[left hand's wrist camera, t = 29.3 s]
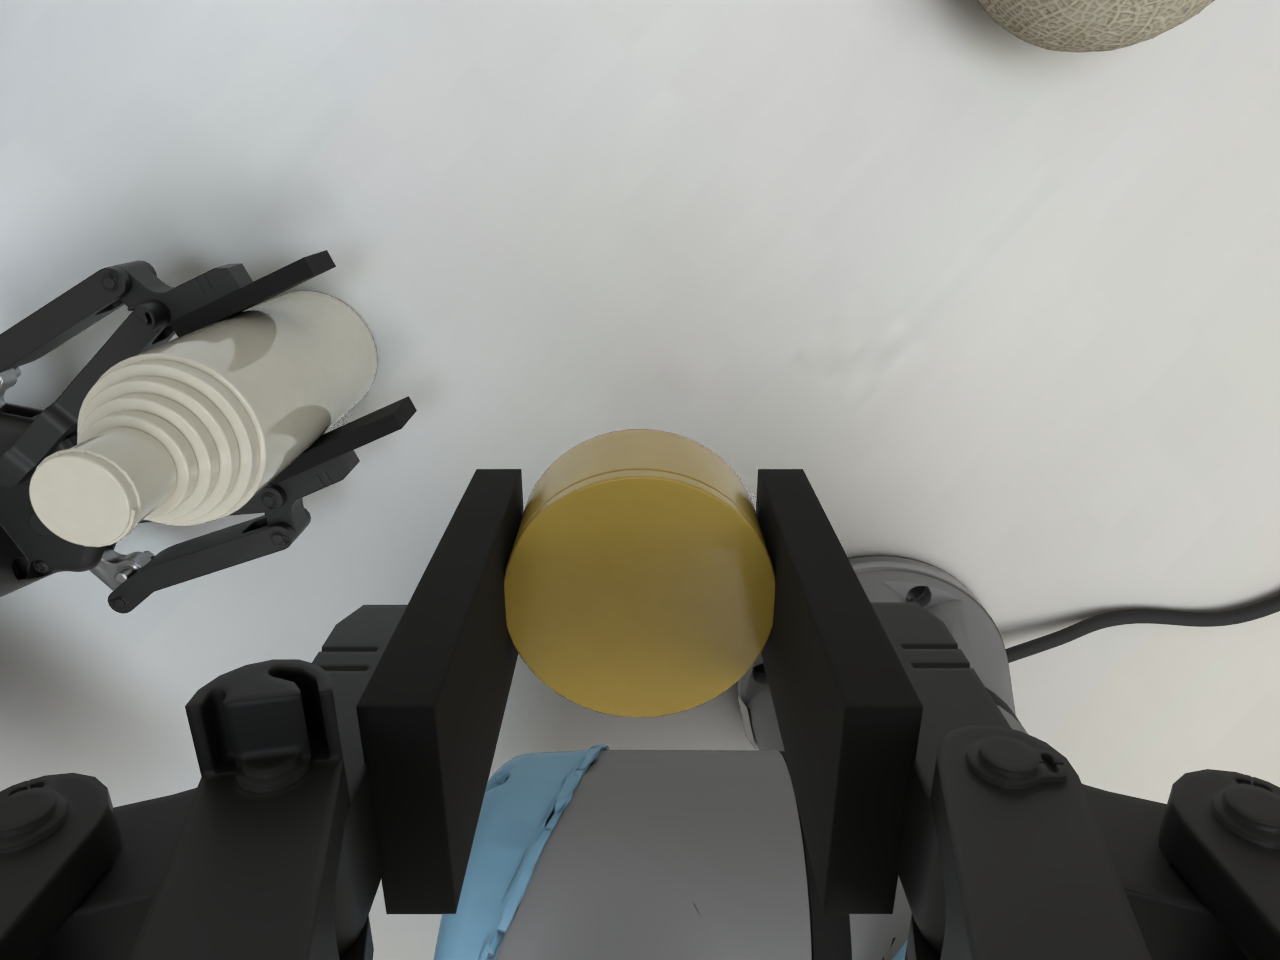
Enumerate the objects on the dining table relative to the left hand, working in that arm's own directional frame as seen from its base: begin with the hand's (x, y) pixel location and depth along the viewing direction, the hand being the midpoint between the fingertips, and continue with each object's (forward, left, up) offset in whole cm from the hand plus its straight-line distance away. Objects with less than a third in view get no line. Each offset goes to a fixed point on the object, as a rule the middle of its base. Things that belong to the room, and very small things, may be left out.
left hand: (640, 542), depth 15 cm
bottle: (+16, -6, -29) cm, 34 cm away
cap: (0, 0, +2) cm, 2 cm away
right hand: (+11, -5, -23) cm, 26 cm away
